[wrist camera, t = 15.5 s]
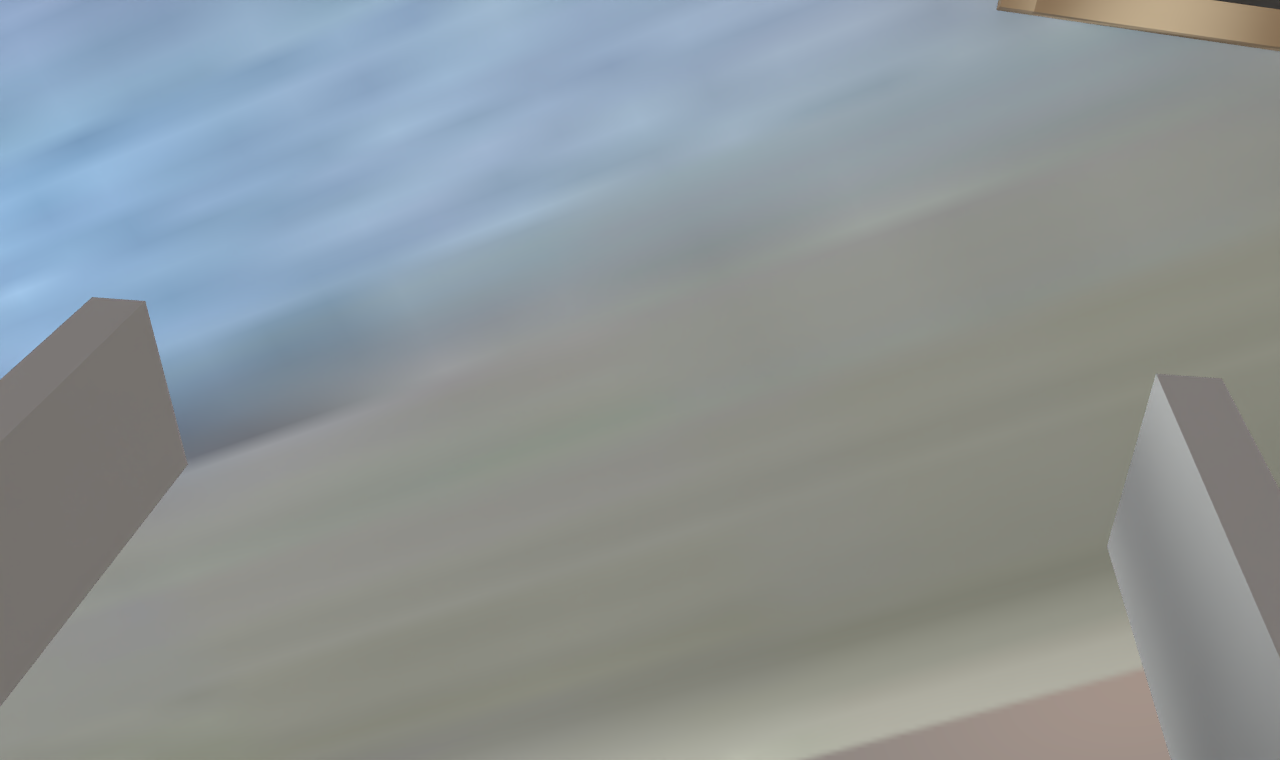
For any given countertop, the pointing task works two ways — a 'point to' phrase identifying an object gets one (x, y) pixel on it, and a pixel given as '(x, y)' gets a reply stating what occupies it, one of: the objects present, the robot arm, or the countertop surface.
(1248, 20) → the oak rack
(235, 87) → the countertop surface
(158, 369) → the robot arm
